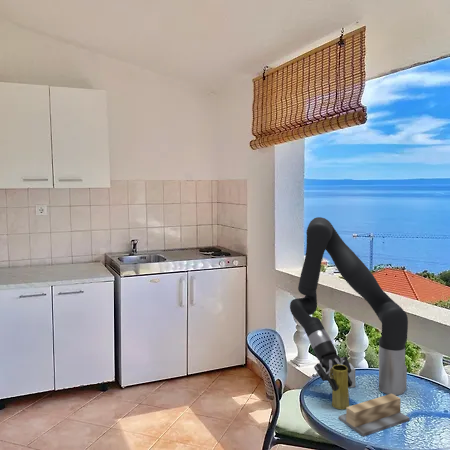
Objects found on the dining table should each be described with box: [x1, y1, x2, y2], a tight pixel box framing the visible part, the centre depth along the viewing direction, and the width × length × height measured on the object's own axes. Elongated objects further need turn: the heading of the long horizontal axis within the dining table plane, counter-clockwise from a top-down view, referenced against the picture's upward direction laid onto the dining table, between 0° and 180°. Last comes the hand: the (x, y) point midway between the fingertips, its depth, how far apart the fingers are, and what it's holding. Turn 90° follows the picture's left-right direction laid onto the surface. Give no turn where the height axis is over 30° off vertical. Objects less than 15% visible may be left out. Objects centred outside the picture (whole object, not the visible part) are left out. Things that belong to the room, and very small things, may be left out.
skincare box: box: [342, 362, 356, 389], centre depth 184 cm, size 6×6×7 cm
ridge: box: [338, 394, 410, 437], centre depth 158 cm, size 20×12×6 cm, turn 116°
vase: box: [331, 364, 350, 410], centre depth 167 cm, size 6×6×14 cm
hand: (343, 388), depth 165 cm, fingers closed on vase, 5 cm apart
